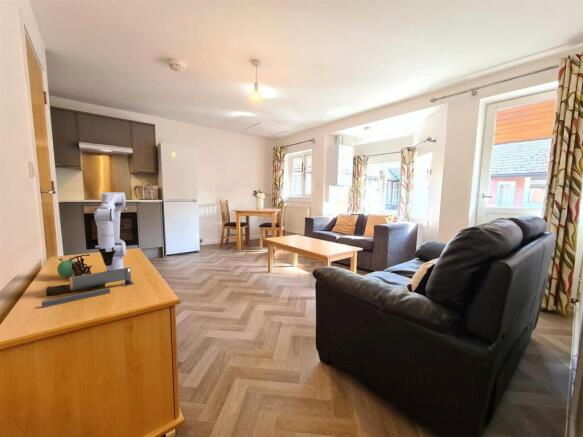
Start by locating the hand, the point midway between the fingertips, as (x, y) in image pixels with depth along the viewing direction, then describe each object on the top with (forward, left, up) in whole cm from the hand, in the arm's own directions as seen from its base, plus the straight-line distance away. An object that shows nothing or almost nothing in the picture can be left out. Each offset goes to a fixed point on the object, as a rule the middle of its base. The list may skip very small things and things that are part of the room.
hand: (108, 264), depth 110 cm
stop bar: (+11, -11, -9) cm, 18 cm away
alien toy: (-27, -14, -10) cm, 31 cm away
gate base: (+5, +6, -9) cm, 12 cm away
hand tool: (0, -11, -10) cm, 15 cm away
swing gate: (+5, -3, -9) cm, 11 cm away
